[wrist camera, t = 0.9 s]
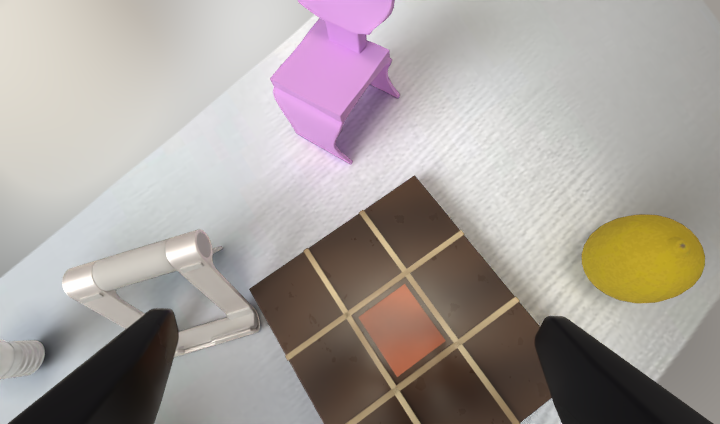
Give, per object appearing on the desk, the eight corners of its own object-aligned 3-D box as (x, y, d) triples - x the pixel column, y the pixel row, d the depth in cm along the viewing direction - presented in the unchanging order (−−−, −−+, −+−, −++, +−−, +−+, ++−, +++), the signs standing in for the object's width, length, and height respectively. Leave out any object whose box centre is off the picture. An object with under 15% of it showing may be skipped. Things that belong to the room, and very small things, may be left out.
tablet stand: (158, 363, 28) (62, 379, 20) (150, 267, 30) (61, 248, 22) (262, 332, 28) (207, 335, 20) (245, 239, 30) (190, 209, 22)
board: (569, 372, 24) (581, 375, 23) (384, 518, 23) (383, 533, 21) (413, 182, 30) (414, 174, 28) (256, 290, 29) (247, 288, 27)
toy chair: (284, 132, 33) (197, -13, 19) (337, 64, 35) (294, -116, 20) (357, 174, 31) (322, 47, 17) (409, 100, 32) (418, -73, 18)
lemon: (607, 220, 27) (687, 180, 20) (658, 283, 26) (768, 267, 18) (547, 253, 27) (605, 226, 19) (595, 319, 25) (679, 318, 18)
